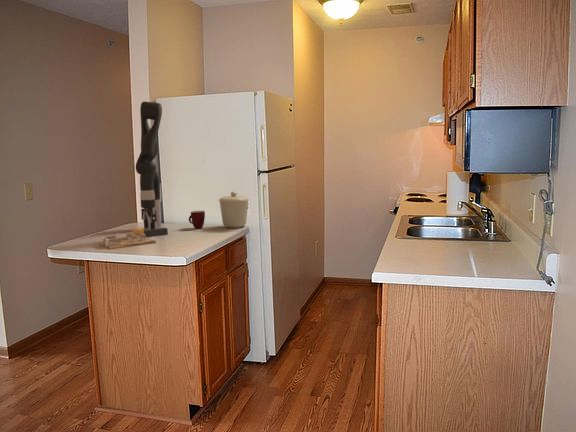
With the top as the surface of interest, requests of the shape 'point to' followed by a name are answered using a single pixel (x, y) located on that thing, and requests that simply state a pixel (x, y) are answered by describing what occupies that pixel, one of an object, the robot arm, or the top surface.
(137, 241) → the board
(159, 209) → the robot arm
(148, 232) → the grey and orange bar
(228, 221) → the canister
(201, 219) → the mug
